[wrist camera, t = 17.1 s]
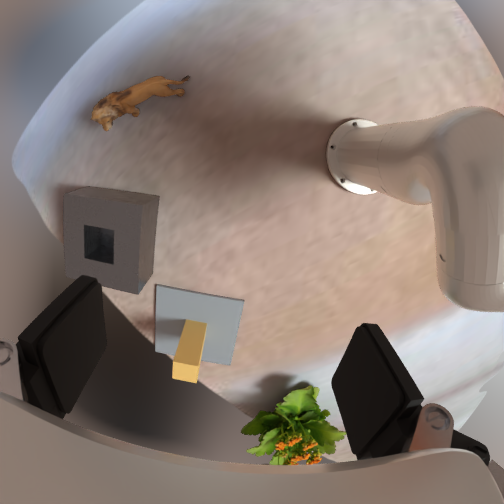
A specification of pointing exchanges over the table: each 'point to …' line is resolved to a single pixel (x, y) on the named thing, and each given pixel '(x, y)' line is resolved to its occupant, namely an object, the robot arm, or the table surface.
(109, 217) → the hole block
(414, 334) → the table surface
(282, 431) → the potted flower
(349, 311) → the table surface
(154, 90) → the brown animal figure
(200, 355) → the peg
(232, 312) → the mat
